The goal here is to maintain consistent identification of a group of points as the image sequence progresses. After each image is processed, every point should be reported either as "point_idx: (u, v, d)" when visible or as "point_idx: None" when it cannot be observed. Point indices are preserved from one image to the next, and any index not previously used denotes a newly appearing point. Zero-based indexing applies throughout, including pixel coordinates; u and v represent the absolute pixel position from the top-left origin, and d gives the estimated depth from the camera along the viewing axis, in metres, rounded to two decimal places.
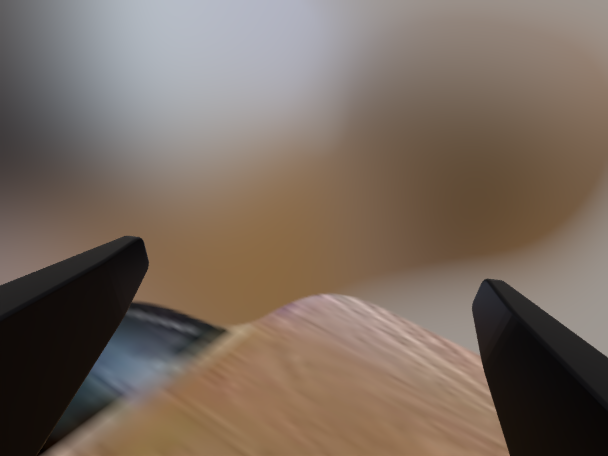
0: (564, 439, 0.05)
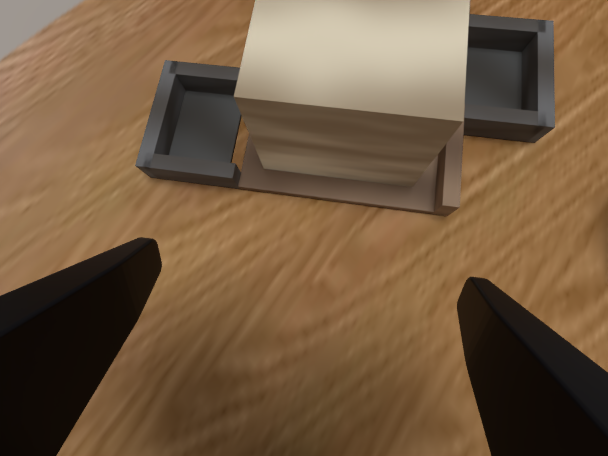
0: (539, 435, 0.05)
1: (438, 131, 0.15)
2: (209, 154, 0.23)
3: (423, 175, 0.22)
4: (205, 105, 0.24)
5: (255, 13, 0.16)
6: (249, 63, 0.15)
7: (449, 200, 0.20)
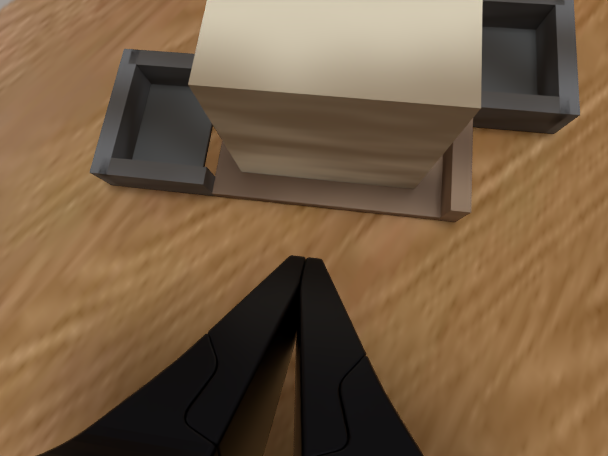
0: (297, 398, 0.06)
1: (447, 121, 0.12)
2: (179, 157, 0.20)
3: (426, 175, 0.19)
4: (173, 99, 0.21)
5: None
6: (207, 42, 0.12)
7: (458, 204, 0.17)
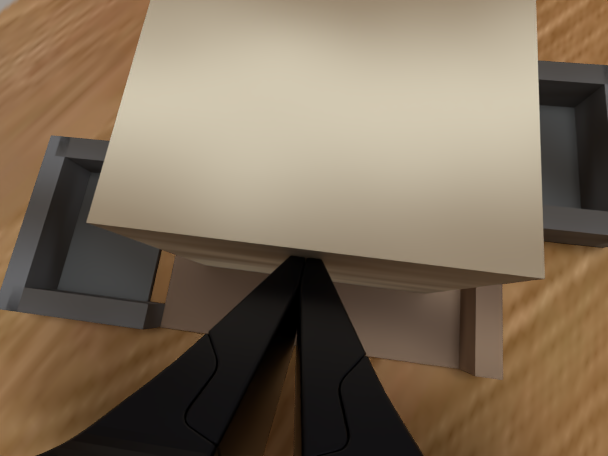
0: (297, 398, 0.06)
1: (484, 278, 0.08)
2: (121, 272, 0.16)
3: (440, 306, 0.14)
4: None
5: (139, 54, 0.09)
6: (122, 152, 0.08)
7: (486, 367, 0.12)
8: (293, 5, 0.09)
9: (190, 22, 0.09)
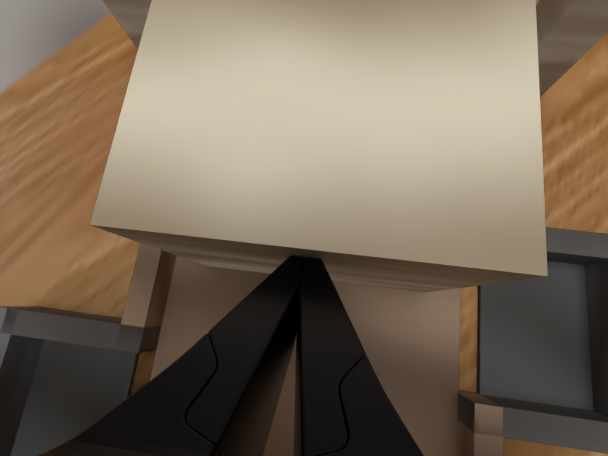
0: (296, 398, 0.06)
1: (487, 276, 0.08)
2: None
3: None
4: (75, 359, 0.15)
5: (141, 56, 0.09)
6: (124, 154, 0.08)
7: None
8: (294, 6, 0.09)
9: (192, 23, 0.09)
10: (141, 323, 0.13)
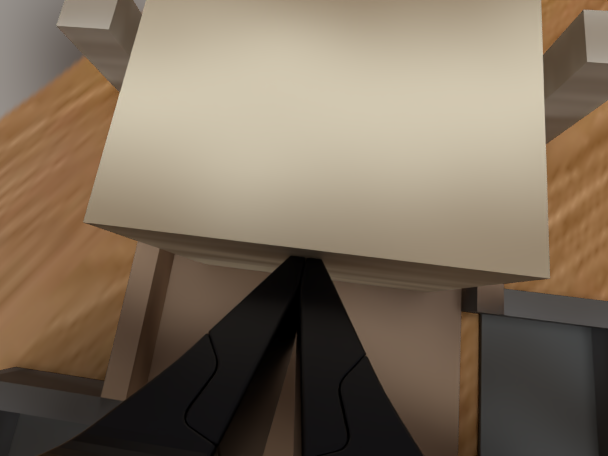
0: (297, 398, 0.06)
1: (488, 277, 0.08)
2: None
3: None
4: (55, 426, 0.14)
5: (137, 50, 0.08)
6: (119, 150, 0.08)
7: None
8: (293, 0, 0.09)
9: (188, 17, 0.09)
10: (122, 396, 0.13)
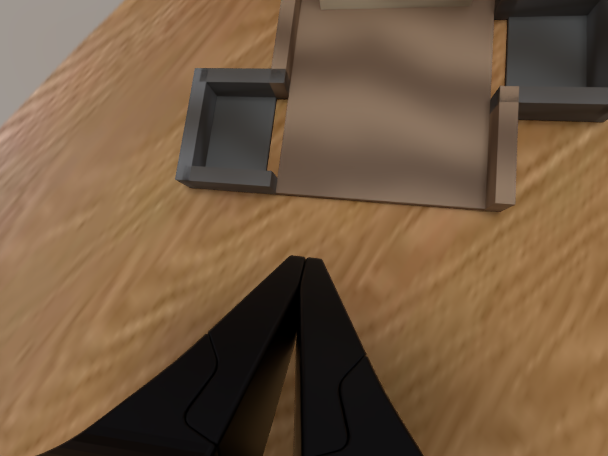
0: (297, 398, 0.06)
1: None
2: (245, 161, 0.23)
3: (472, 169, 0.20)
4: (237, 109, 0.24)
5: None
6: None
7: (503, 197, 0.18)
8: None
9: None
10: (283, 67, 0.22)
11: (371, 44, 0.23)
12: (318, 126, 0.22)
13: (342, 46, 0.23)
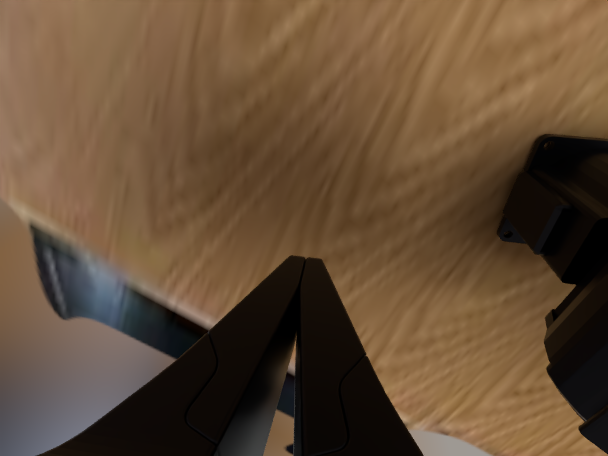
0: (296, 398, 0.06)
1: None
2: None
3: None
4: None
5: None
6: None
7: None
8: None
9: None
10: None
11: None
12: None
13: None
